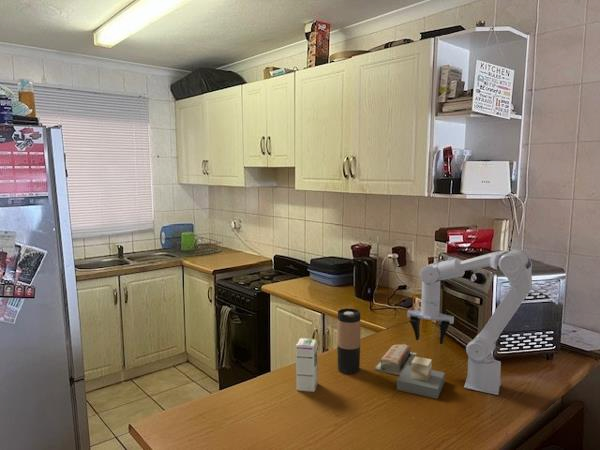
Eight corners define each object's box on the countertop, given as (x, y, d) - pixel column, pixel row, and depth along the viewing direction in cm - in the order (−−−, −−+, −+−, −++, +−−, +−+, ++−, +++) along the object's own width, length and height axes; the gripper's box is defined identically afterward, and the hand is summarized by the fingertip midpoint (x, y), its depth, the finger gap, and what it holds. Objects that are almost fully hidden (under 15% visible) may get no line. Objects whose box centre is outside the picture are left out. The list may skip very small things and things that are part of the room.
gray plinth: (444, 381, 136) (445, 372, 135) (437, 398, 125) (437, 389, 125) (406, 373, 141) (406, 364, 141) (396, 389, 131) (396, 380, 130)
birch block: (431, 374, 134) (431, 359, 133) (427, 381, 129) (428, 365, 129) (415, 371, 136) (415, 356, 136) (410, 377, 132) (411, 362, 131)
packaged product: (404, 363, 139) (374, 357, 143) (404, 378, 139) (374, 371, 144) (417, 344, 154) (390, 339, 159) (417, 357, 155) (390, 352, 160)
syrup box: (314, 392, 129) (314, 345, 128) (295, 390, 131) (295, 344, 129) (317, 383, 135) (317, 338, 133) (299, 381, 136) (299, 337, 135)
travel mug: (345, 362, 150) (345, 306, 148) (364, 368, 145) (365, 311, 143) (332, 370, 144) (332, 312, 142) (352, 377, 139) (352, 317, 137)
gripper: (405, 301, 140) (404, 341, 142) (451, 307, 133) (450, 349, 135) (410, 295, 146) (409, 334, 148) (455, 301, 139) (453, 341, 141)
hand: (429, 341), depth 142 cm, fingers open, 7 cm apart
